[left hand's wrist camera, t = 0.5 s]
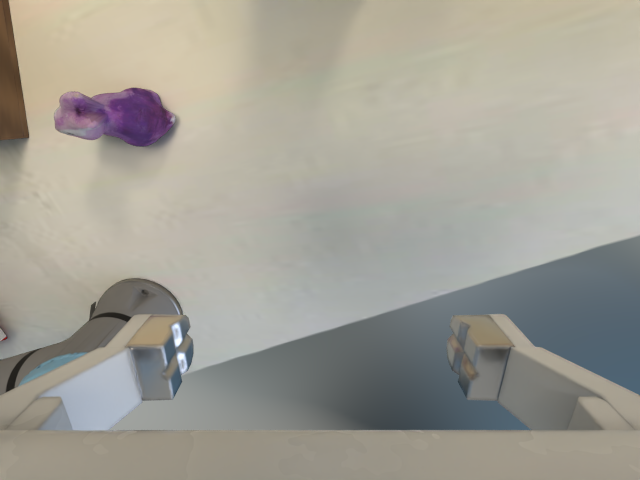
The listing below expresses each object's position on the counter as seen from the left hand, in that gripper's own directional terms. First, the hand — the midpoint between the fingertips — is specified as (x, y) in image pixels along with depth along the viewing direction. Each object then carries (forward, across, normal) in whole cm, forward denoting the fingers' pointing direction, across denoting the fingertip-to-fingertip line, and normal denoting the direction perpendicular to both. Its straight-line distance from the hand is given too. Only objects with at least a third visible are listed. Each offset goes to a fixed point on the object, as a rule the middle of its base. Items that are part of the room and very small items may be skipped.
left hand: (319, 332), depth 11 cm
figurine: (+47, +28, -5) cm, 55 cm away
